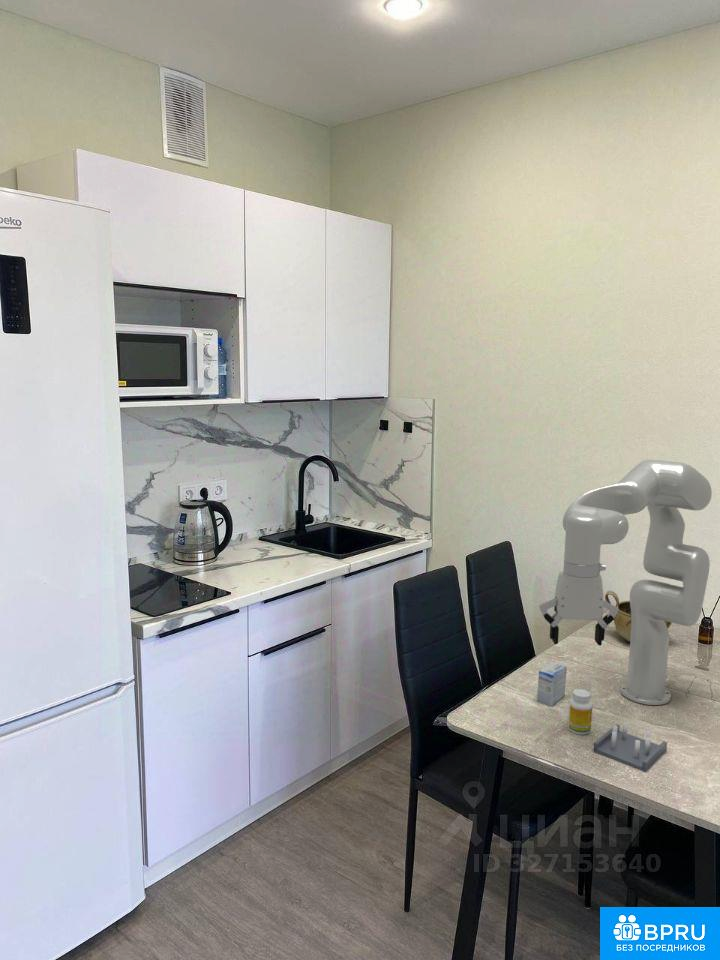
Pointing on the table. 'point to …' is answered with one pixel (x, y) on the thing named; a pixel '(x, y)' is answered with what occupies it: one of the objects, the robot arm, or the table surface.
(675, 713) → the table surface
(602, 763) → the table surface
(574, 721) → the supplement bottle
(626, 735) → the tray
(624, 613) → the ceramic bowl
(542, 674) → the medicine box
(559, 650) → the table surface
